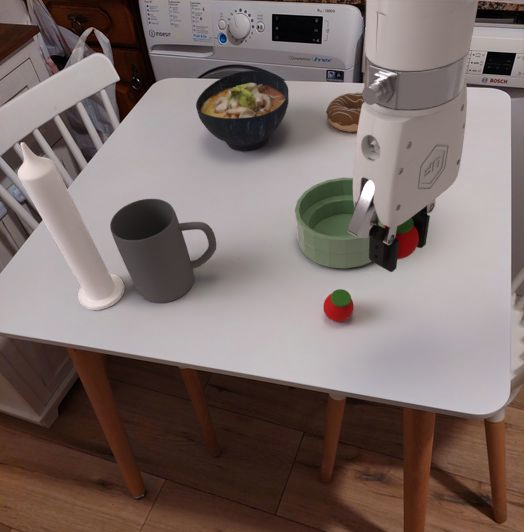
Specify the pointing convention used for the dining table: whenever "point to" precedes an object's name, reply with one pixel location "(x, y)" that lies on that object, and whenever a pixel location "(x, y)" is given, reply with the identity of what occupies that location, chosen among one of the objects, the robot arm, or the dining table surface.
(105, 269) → the candle
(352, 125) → the donut
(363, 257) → the fruit bowl
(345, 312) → the strawberry
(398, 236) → the red ball green cap
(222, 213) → the dining table surface
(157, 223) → the mug
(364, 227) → the robot arm
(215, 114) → the bowl
